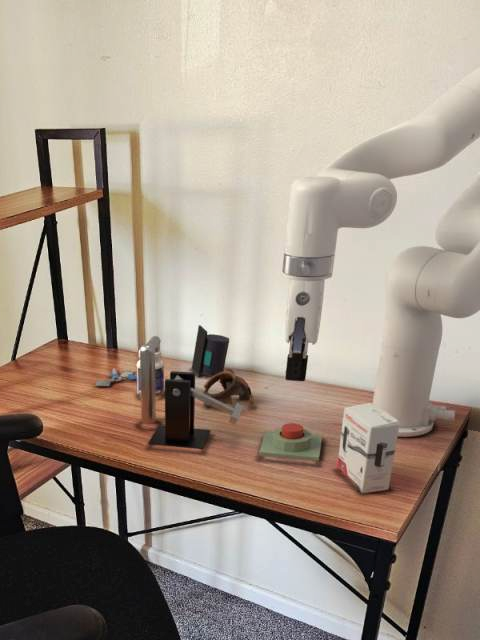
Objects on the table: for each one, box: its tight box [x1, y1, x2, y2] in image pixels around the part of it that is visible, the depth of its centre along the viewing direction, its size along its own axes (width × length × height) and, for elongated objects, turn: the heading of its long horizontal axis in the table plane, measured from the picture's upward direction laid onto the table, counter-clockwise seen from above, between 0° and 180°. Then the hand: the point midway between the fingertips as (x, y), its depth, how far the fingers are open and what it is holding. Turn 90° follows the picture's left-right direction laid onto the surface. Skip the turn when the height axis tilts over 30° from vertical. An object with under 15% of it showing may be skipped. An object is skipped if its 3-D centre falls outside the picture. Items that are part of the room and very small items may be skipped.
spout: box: [139, 335, 162, 425], centre depth 136 cm, size 4×9×16 cm, turn 162°
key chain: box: [94, 368, 137, 387], centre depth 162 cm, size 14×8×1 cm, turn 118°
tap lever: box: [174, 375, 244, 426], centre depth 126 cm, size 13×6×2 cm, turn 71°
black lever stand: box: [148, 370, 212, 450], centre depth 128 cm, size 10×8×13 cm
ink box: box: [337, 402, 399, 494], centre depth 113 cm, size 8×5×12 cm, turn 11°
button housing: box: [258, 426, 323, 462], centre depth 125 cm, size 10×9×4 cm
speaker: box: [191, 324, 230, 378], centre depth 159 cm, size 8×6×10 cm
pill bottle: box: [136, 349, 165, 397], centre depth 149 cm, size 6×6×10 cm
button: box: [281, 422, 304, 440], centre depth 124 cm, size 4×4×2 cm
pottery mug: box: [202, 368, 254, 407], centre depth 144 cm, size 12×10×8 cm
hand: (295, 378), depth 118 cm, fingers closed
